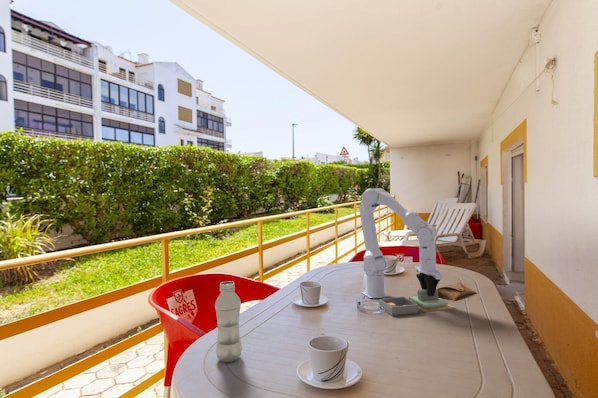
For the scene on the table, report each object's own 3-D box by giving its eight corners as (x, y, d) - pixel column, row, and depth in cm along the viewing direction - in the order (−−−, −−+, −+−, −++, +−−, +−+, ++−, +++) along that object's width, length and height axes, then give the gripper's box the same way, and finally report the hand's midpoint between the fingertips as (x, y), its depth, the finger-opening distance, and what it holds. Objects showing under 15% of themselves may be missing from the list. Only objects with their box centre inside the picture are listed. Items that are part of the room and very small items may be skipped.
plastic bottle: (218, 354, 95) (215, 280, 95) (243, 353, 95) (241, 279, 95) (214, 366, 88) (211, 287, 88) (241, 364, 89) (239, 285, 89)
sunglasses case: (454, 301, 134) (446, 284, 137) (440, 307, 139) (432, 290, 142) (478, 292, 145) (469, 277, 148) (463, 298, 150) (455, 283, 152)
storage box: (379, 307, 130) (378, 299, 130) (403, 304, 132) (403, 296, 132) (392, 316, 120) (391, 307, 120) (418, 313, 123) (418, 304, 123)
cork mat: (403, 301, 136) (403, 300, 136) (433, 298, 139) (433, 297, 139) (422, 312, 124) (422, 311, 124) (455, 308, 126) (455, 307, 126)
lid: (409, 301, 135) (408, 287, 135) (432, 298, 137) (432, 285, 137) (423, 309, 125) (423, 294, 125) (448, 306, 127) (448, 292, 127)
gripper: (449, 260, 125) (450, 298, 125) (426, 254, 139) (426, 288, 139) (431, 262, 123) (432, 300, 124) (409, 255, 137) (410, 290, 138)
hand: (428, 294), depth 131 cm, fingers open, 3 cm apart
